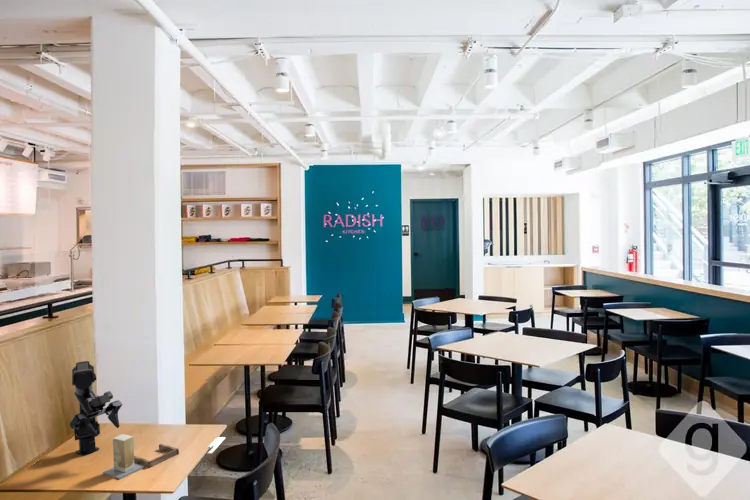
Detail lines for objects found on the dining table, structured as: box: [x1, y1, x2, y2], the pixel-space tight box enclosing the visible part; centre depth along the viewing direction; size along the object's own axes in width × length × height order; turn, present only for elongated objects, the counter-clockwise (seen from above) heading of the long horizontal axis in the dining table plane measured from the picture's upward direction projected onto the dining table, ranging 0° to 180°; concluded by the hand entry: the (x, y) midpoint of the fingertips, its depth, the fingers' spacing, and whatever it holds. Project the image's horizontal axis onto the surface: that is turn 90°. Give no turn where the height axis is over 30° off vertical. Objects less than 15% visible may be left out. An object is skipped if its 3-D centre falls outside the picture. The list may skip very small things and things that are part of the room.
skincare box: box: [112, 433, 135, 472], centre depth 186 cm, size 6×4×12 cm
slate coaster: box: [102, 463, 145, 480], centre depth 187 cm, size 10×10×1 cm
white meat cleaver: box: [206, 436, 227, 455], centre depth 206 cm, size 5×15×1 cm, turn 175°
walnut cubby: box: [134, 443, 180, 468], centre depth 197 cm, size 11×13×2 cm
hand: (107, 431), depth 190 cm, fingers open, 9 cm apart
